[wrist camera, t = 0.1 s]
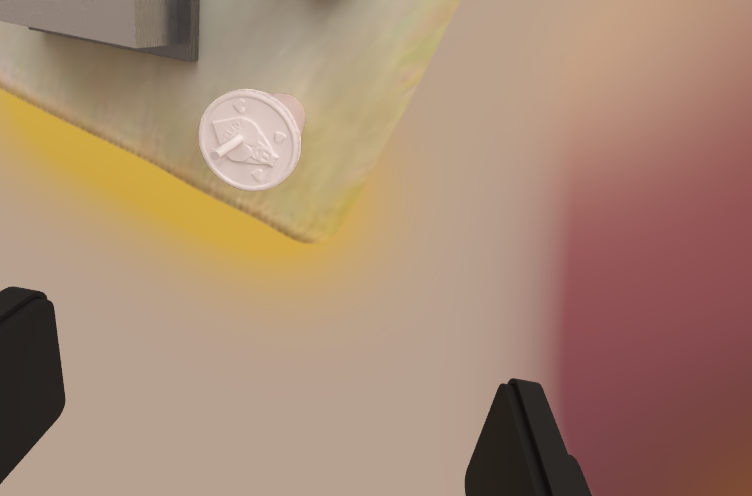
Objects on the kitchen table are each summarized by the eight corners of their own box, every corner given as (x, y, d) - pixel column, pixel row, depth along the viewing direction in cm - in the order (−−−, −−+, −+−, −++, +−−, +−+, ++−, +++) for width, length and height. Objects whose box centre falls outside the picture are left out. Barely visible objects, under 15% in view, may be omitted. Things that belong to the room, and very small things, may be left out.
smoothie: (266, 57, 37) (194, 74, 24) (337, 106, 38) (304, 146, 25) (230, 127, 39) (147, 176, 26) (297, 170, 40) (249, 236, 28)
